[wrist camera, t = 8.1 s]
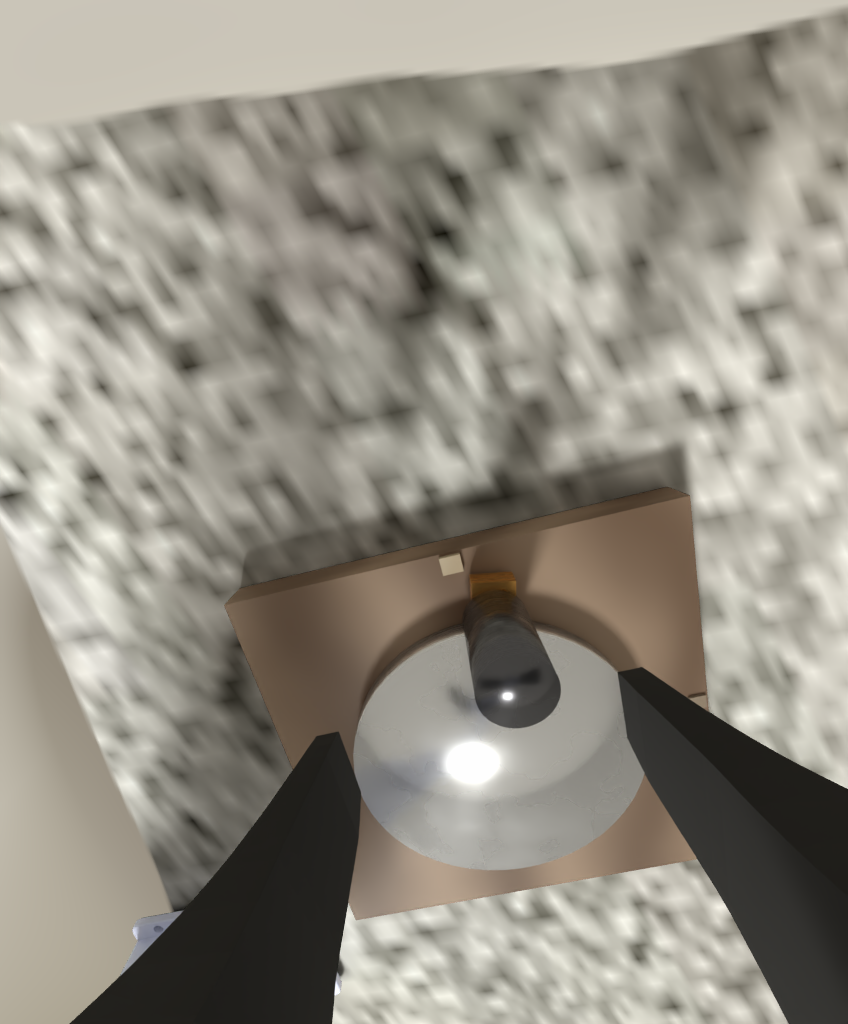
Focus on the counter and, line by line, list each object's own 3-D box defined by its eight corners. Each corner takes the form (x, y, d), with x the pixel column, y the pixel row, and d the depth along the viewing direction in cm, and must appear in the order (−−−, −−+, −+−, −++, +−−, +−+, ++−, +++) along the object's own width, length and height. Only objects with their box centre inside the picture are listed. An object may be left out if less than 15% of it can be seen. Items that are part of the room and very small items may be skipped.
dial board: (360, 886, 23) (355, 924, 21) (239, 588, 18) (221, 607, 17) (701, 824, 22) (723, 859, 20) (667, 486, 17) (693, 496, 15)
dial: (629, 839, 20) (693, 979, 15) (373, 854, 20) (357, 997, 15) (649, 559, 16) (742, 630, 11) (333, 582, 16) (296, 660, 12)
